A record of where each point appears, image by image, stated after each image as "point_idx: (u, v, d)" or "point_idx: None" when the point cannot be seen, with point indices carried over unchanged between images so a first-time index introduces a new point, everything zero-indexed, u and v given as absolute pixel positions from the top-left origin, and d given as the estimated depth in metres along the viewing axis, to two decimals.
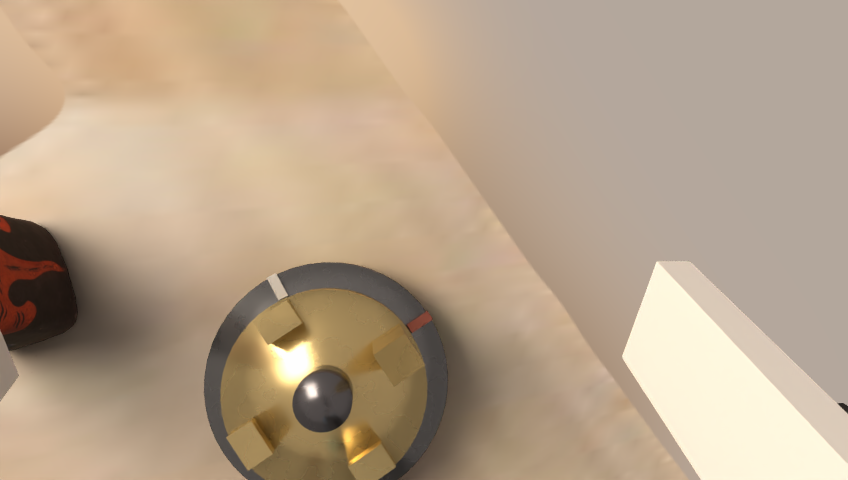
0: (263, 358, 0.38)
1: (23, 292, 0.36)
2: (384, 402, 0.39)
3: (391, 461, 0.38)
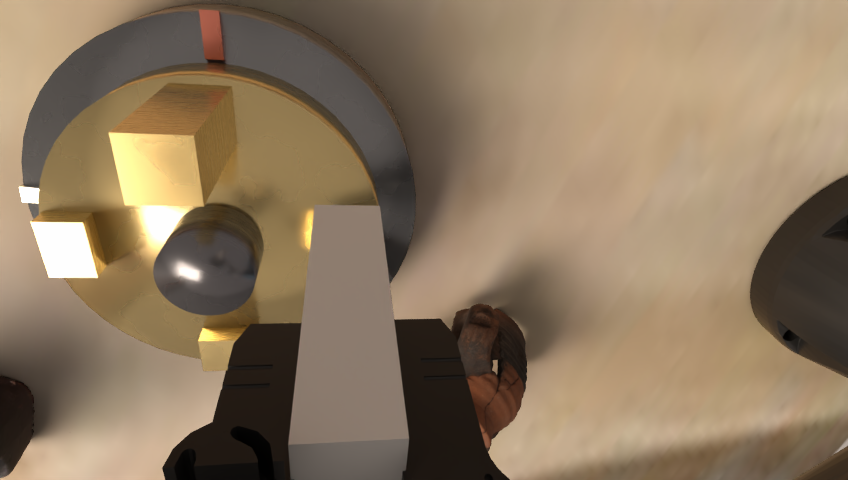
0: (126, 283, 0.25)
1: None
2: (285, 180, 0.23)
3: None
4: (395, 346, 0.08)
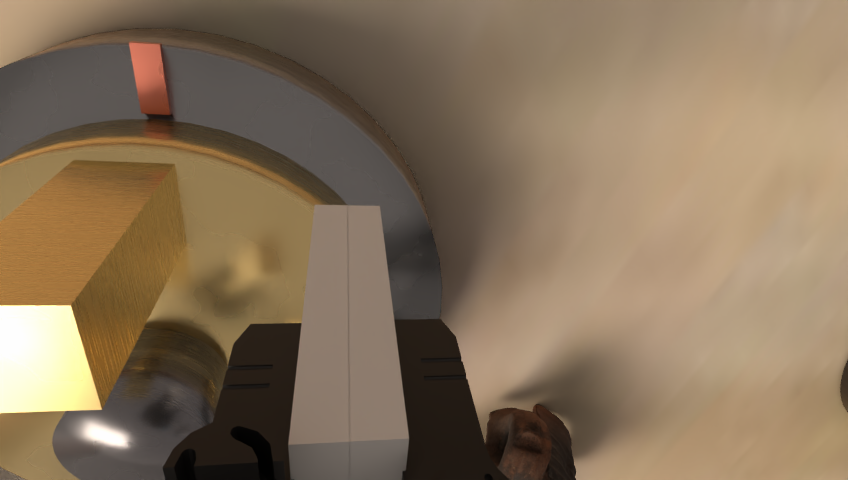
0: (33, 425, 0.17)
1: None
2: (260, 291, 0.16)
3: None
4: (395, 346, 0.08)
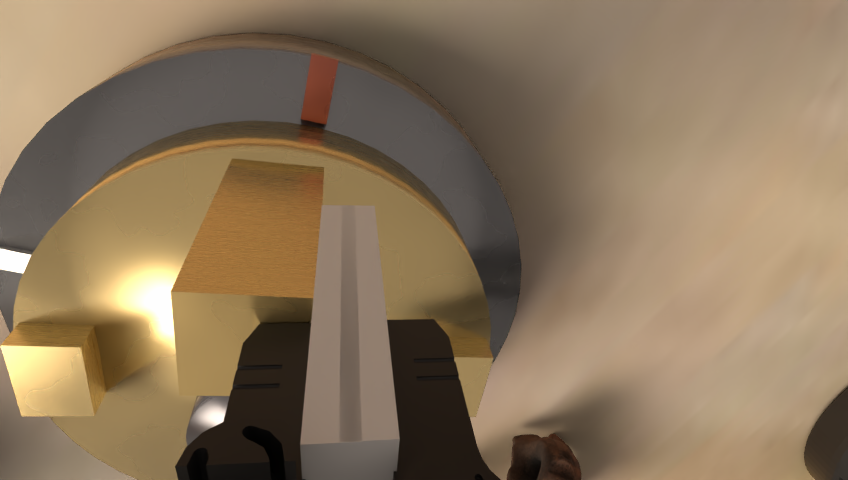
0: (132, 413, 0.18)
1: None
2: None
3: (478, 357, 0.17)
4: (387, 346, 0.08)
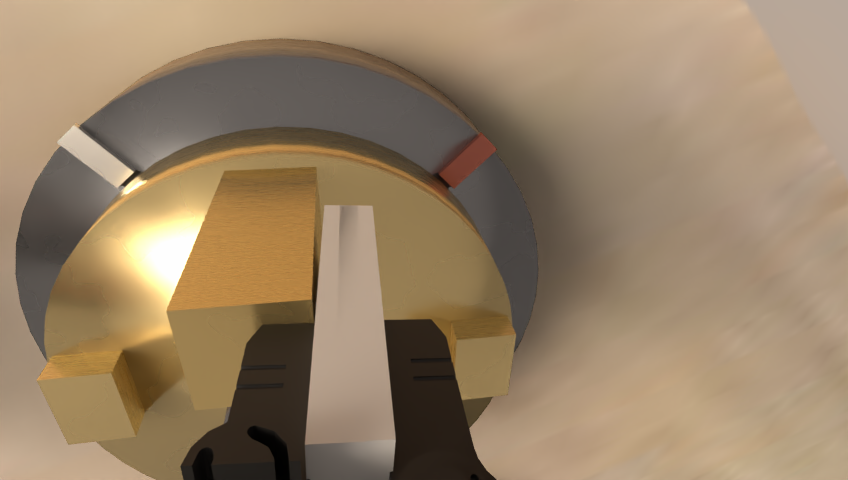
0: (173, 430, 0.18)
1: None
2: (388, 283, 0.17)
3: (500, 336, 0.17)
4: (384, 346, 0.08)
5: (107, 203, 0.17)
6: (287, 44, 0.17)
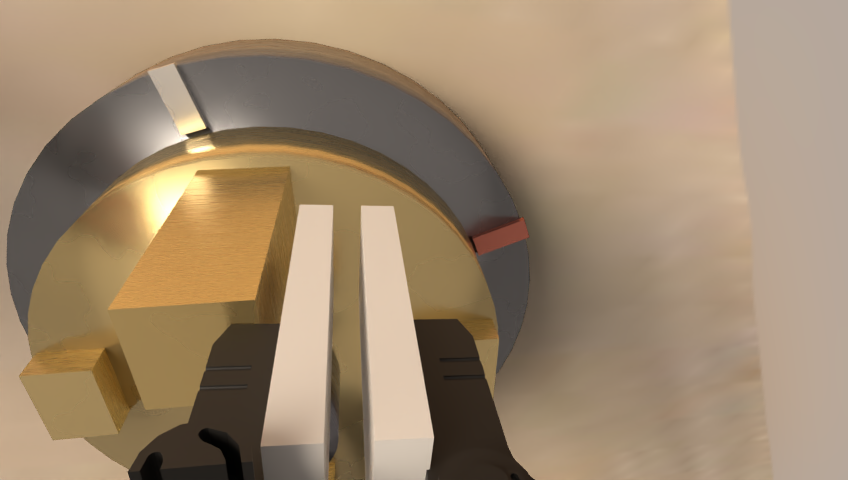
0: (158, 428, 0.18)
1: None
2: None
3: (483, 340, 0.17)
4: (416, 346, 0.08)
5: (161, 144, 0.16)
6: (389, 72, 0.18)
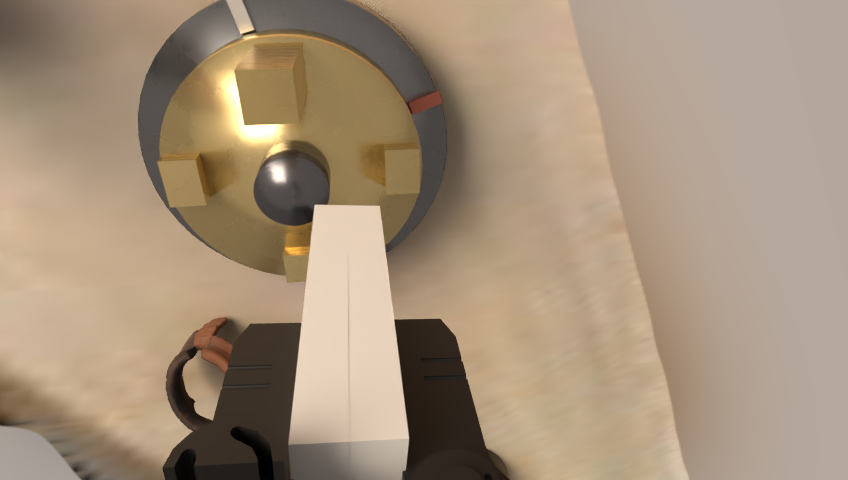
0: (225, 212, 0.32)
1: None
2: (345, 116, 0.30)
3: (410, 150, 0.30)
4: (395, 346, 0.08)
5: (229, 40, 0.29)
6: (357, 2, 0.31)
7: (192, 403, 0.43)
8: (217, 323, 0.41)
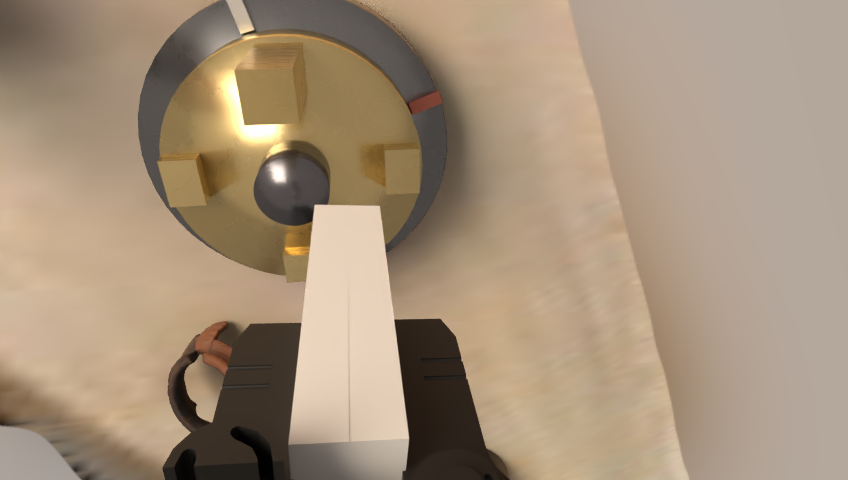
0: (225, 212, 0.32)
1: None
2: (345, 117, 0.30)
3: (410, 150, 0.30)
4: (395, 346, 0.08)
5: (229, 40, 0.29)
6: (357, 2, 0.31)
7: (194, 406, 0.43)
8: (219, 327, 0.42)
